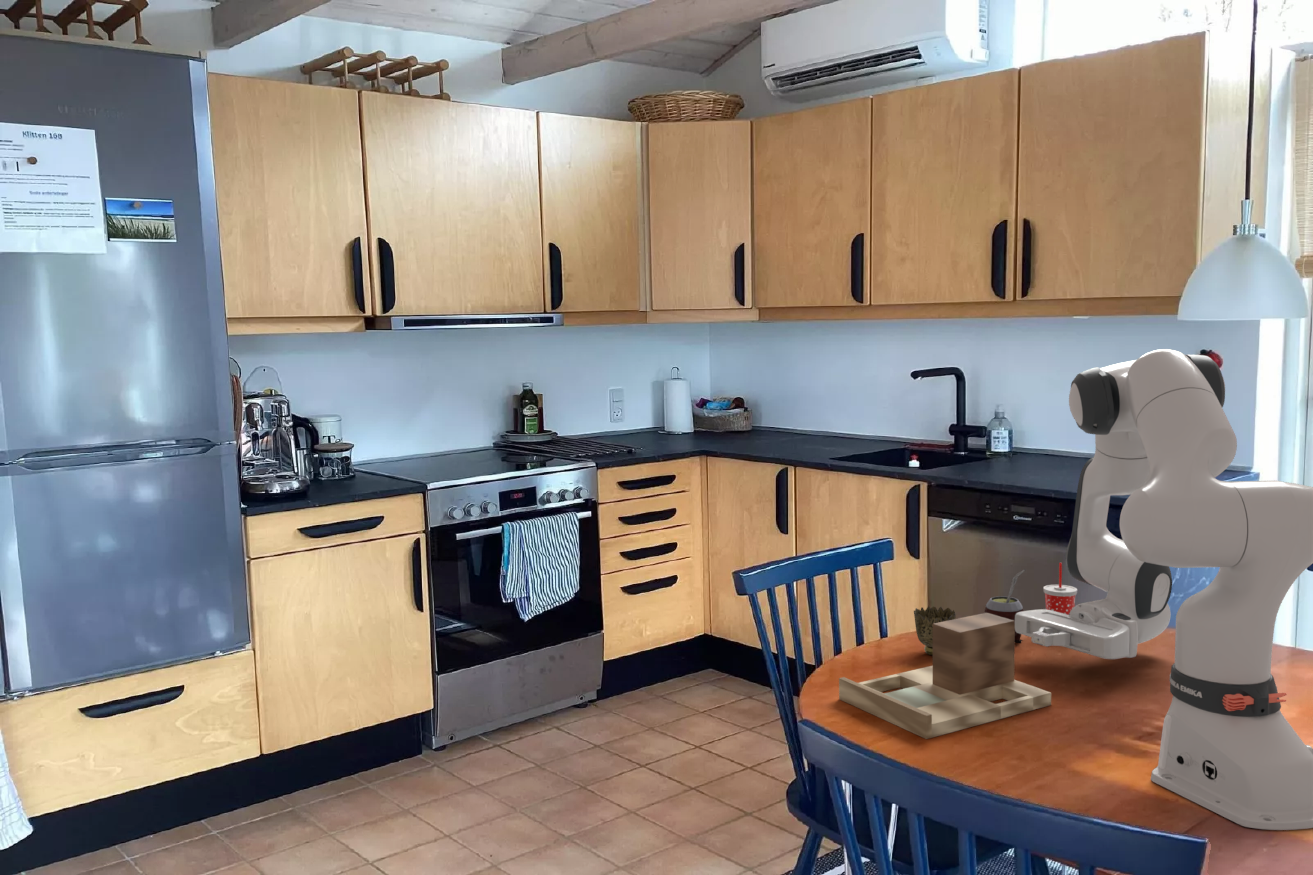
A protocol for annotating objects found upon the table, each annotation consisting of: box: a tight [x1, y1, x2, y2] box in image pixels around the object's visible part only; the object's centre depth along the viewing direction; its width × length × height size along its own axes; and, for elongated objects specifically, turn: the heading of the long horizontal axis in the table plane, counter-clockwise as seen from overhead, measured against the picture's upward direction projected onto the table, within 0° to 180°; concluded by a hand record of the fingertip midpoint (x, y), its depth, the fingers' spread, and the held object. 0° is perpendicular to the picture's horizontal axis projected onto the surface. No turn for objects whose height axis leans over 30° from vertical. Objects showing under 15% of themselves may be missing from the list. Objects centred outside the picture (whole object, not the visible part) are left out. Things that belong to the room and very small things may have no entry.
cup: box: [913, 605, 957, 656], centre depth 194 cm, size 8×7×8 cm
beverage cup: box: [1043, 562, 1078, 615], centre depth 204 cm, size 6×6×14 cm
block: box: [932, 612, 1016, 695], centre depth 172 cm, size 12×6×10 cm, turn 119°
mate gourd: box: [984, 568, 1026, 644], centre depth 200 cm, size 8×8×15 cm
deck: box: [838, 665, 1052, 740], centre depth 169 cm, size 26×20×4 cm
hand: (1038, 639), depth 179 cm, fingers closed
